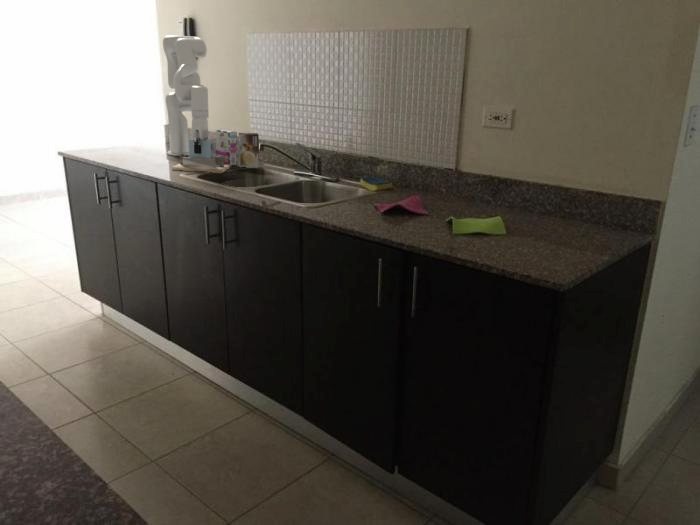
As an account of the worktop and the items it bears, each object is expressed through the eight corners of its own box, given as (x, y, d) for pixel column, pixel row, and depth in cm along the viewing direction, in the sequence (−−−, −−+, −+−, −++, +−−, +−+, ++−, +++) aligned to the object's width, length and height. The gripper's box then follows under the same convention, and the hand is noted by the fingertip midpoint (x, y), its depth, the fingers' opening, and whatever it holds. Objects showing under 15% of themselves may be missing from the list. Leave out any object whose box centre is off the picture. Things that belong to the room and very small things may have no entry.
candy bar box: (237, 165, 288) (237, 131, 283) (229, 166, 285) (228, 132, 279) (224, 162, 295) (223, 129, 290) (215, 163, 292) (214, 129, 287)
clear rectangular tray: (184, 164, 284) (183, 151, 281) (230, 167, 282) (230, 154, 280) (172, 170, 269) (171, 155, 267) (221, 173, 268) (220, 158, 265)
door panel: (192, 164, 277) (191, 138, 273) (216, 165, 276) (215, 139, 273) (189, 165, 274) (188, 139, 270) (213, 167, 273) (212, 141, 269)
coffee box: (257, 165, 290) (257, 132, 285) (259, 168, 285) (259, 134, 279) (238, 165, 288) (238, 132, 283) (240, 168, 282) (239, 134, 277)
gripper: (198, 112, 276) (199, 149, 281) (185, 115, 260) (186, 154, 265) (214, 113, 275) (215, 150, 281) (201, 116, 259) (203, 155, 265)
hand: (201, 152), depth 273 cm, fingers open, 9 cm apart
